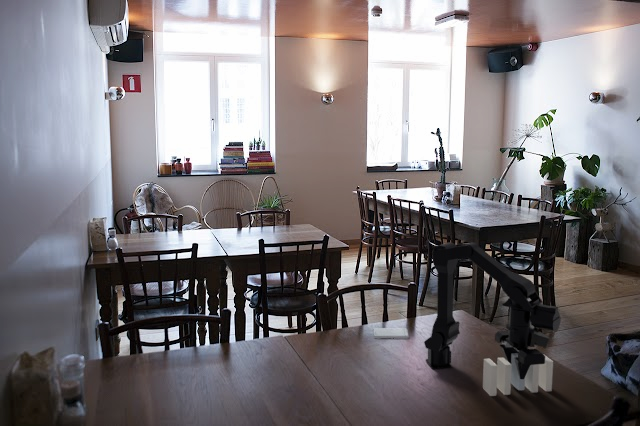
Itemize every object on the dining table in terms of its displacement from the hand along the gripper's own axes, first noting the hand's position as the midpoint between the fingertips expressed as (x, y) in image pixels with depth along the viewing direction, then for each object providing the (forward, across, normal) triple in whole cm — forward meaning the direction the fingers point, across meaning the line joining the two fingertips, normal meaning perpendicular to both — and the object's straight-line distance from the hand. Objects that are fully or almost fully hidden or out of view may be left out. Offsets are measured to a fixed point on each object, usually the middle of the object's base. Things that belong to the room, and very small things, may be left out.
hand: (517, 375), depth 160 cm
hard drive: (+5, +48, +25) cm, 54 cm away
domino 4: (+4, 0, -4) cm, 6 cm away
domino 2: (+4, 0, +4) cm, 6 cm away
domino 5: (+4, 0, -8) cm, 9 cm away
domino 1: (+4, 0, +8) cm, 9 cm away
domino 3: (+3, 0, 0) cm, 3 cm away
